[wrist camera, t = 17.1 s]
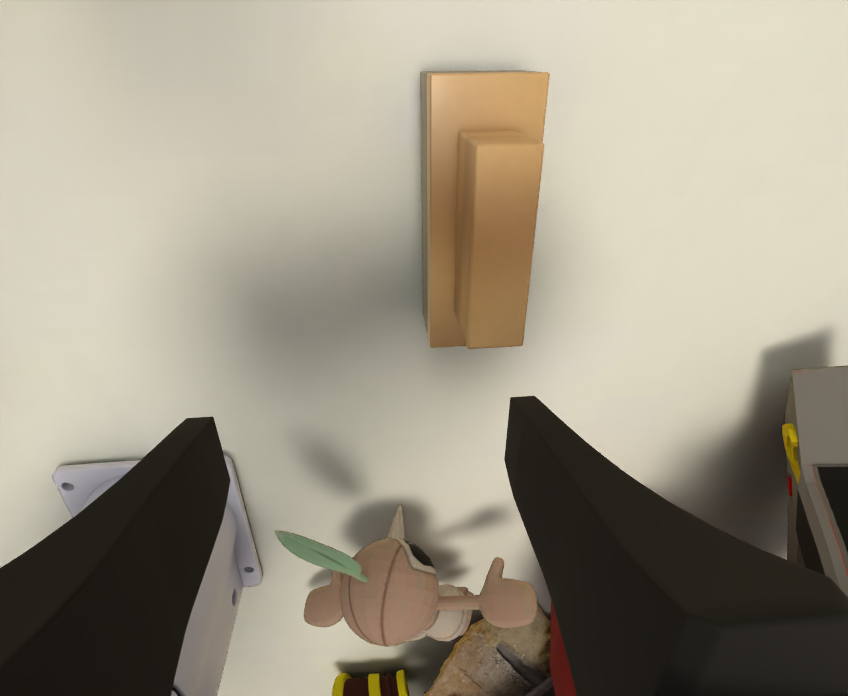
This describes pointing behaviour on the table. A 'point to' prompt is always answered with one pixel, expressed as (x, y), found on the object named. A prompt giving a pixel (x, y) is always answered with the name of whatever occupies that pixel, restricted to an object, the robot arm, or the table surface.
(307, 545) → the toy
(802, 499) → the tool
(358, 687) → the opera glasses
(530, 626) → the driftwood
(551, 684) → the hard drive
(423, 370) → the table surface
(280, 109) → the table surface
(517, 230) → the brush
